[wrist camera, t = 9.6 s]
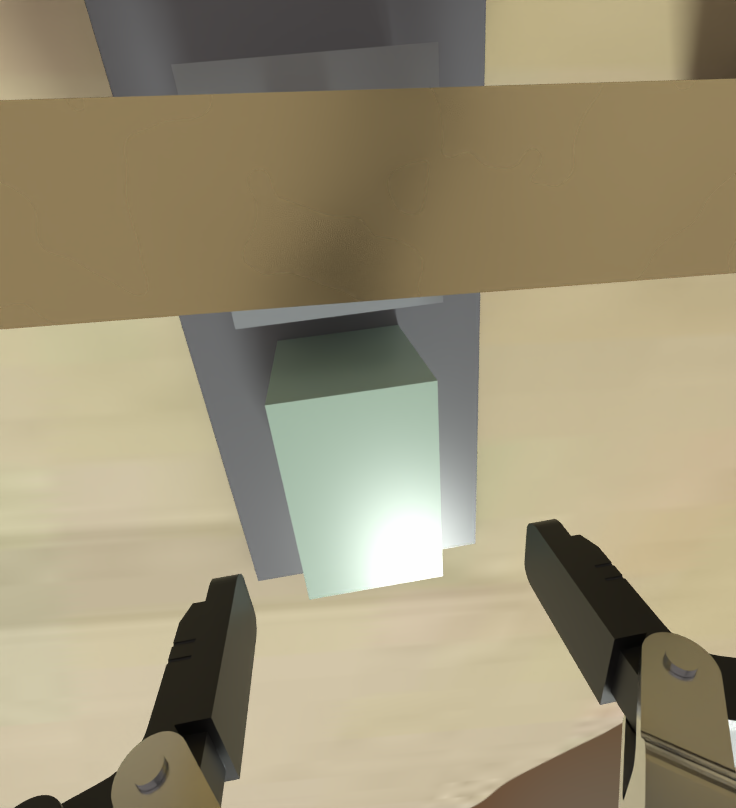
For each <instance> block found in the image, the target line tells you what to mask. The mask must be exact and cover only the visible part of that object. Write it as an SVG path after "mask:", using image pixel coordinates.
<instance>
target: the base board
mask: <svg viewBox="0 0 736 808" xmlns="http://www.w3.org/2000/svg"><path fill="white" fill-rule="evenodd" d="M84 1H85V4H86V8H87V11H88V14H89V18H90V21H91V24H92V28H93V31H94V34H95V38H96V41H97V44H98V48H99V51H100V54H101V58H102V61H103V64H104V68H105V71H106V74H107V78H108V81H109V84H110V88H111V91H112V94H113V97H131V96H164V95H198V94H232V93H266V92H299V91H333V90H367V89H400V88H434V87H468V86H484V72H485V21H486V0H84ZM179 318H180V321H181V324H182V328H183V331H184V334H185V338H186V341H187V344H188V348H189V351H190V354H191V358H192V361H193V364H194V368H195V371H196V374H197V378H198V381H199V384H200V388H201V391H202V394H203V398H204V401H205V404H206V408H207V411H208V414H209V418H210V421H211V424H212V428H213V431H214V434H215V438H216V441H217V444H218V448H219V451H220V454H221V458H222V461H223V464H224V468H225V471H226V474H227V478H228V481H229V484H230V488H231V491H232V494H233V498H234V501H235V504H236V508H237V511H238V514H239V518H240V521H241V524H242V528H243V531H244V534H245V538H246V541H247V544H248V548H249V551H250V554H251V558H252V561H253V564H254V568H255V571H256V574H257V578H258V581H261V580H267V579H273V578H278V577H284V576H290V575H296V574H302V573H303V569H302V564H301V560H300V556H299V551H298V547H297V543H296V538H295V534H294V530H293V525H292V521H291V517H290V512H289V508H288V504H287V499H286V495H285V491H284V486H283V482H282V478H281V473H280V469H279V465H278V460H277V456H276V452H275V447H274V443H273V439H272V434H271V430H270V426H269V421H268V417H267V413H266V408H265V402H266V397H267V392H268V387H269V382H270V376H271V371H272V366H273V361H274V356H275V351H276V346H277V341H280V340H288V339H295V338H303V337H310V336H318V335H325V334H333V333H340V332H348V331H355V330H363V329H370V328H378V327H385V326H393V325H399V327H400V328H401V330H402V331H403V332H404V334H405V335H406V337H407V338H408V340H409V341H410V342H411V344H412V345H413V347H414V348H415V349H416V351H417V352H418V354H419V355H420V357H421V358H422V359H423V361H424V362H425V364H426V365H427V366H428V368H429V369H430V371H431V372H432V374H433V375H434V376H435V378H436V379H437V381H438V417H439V454H440V491H441V528H442V549H446V548H452V547H458V546H464V545H469V544H475V531H476V480H477V429H478V378H479V327H480V293H467V294H454V295H441V296H428V297H415V298H402V299H389V300H376V301H363V302H350V303H337V304H324V305H311V306H298V307H285V308H272V309H259V310H246V311H233V312H220V313H207V314H194V315H180V316H179Z"/></svg>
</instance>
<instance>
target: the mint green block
mask: <svg viewBox="0 0 736 808" xmlns="http://www.w3.org/2000/svg"><path fill="white" fill-rule="evenodd" d="M265 408H266V413H267V417H268V421H269V426H270V430H271V434H272V439H273V443H274V447H275V452H276V456H277V460H278V465H279V469H280V473H281V478H282V482H283V486H284V491H285V495H286V499H287V504H288V508H289V512H290V517H291V521H292V525H293V530H294V534H295V538H296V543H297V547H298V551H299V556H300V560H301V564H302V569H303V573H304V577H305V582H306V586H307V590H308V595H309V599H316V598H321V597H327V596H333V595H338V594H344V593H349V592H355V591H361V590H366V589H372V588H378V587H383V586H389V585H395V584H400V583H406V582H411V581H417V580H423V579H428V578H434V577H440V576H443V564H442V528H441V491H440V454H439V417H438V381H437V379H436V378H435V376H434V375H433V374H432V372H431V371H430V369H429V368H428V366H427V365H426V364H425V362H424V361H423V359H422V358H421V357H420V355H419V354H418V352H417V351H416V349H415V348H414V347H413V345H412V344H411V342H410V341H409V340H408V338H407V337H406V335H405V334H404V332H403V331H402V330H401V328H400V327H399V325H393V326H385V327H378V328H370V329H363V330H355V331H348V332H340V333H333V334H325V335H318V336H310V337H303V338H295V339H288V340H280V341H277V346H276V351H275V356H274V361H273V366H272V371H271V376H270V382H269V387H268V392H267V397H266V402H265Z"/></svg>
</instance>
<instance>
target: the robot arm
mask: <svg viewBox="0 0 736 808" xmlns="http://www.w3.org/2000/svg"><path fill="white" fill-rule="evenodd" d="M525 570H526V575H527V578H528V580H529V583H530V585H531V587H532V589H533V590H534V592H535V594H536V595H537V597H538V599H539V601H540V602H541V604H542V606H543V607H544V609H545V611H546V613H547V614H548V616H549V618H550V619H551V621H552V623H553V625H554V626H555V628H556V630H557V631H558V633H559V635H560V637H561V638H562V640H563V642H564V643H565V645H566V647H567V649H568V650H569V652H570V654H571V656H572V657H573V659H574V661H575V662H576V664H577V666H578V668H579V669H580V671H581V673H582V674H583V676H584V678H585V680H586V681H587V683H588V685H589V686H590V688H591V690H592V692H593V693H594V695H595V697H596V698H597V700H598V702H599V704H600V705H602V704H607V703H611V702H617V703H618V705H619V707H620V708H621V710H622V712H623V713H624V717H623V729H622V748H621V769H620V789H619V807H618V808H736V772H735V767H736V658H732V657H724V656H717V655H712V654H709V653H708V652H707V651H706V650H705V649H703V648H702V647H701V646H699V645H698V644H696V643H695V642H693V641H692V640H690V639H688V638H686V637H683V636H681V635H678V634H674V633H671V632H670V631H669V630H668V629H667V627H666V626H665V625H664V624H663V623H662V622H661V620H660V619H659V618H658V617H657V616H656V615H655V613H654V612H653V611H652V610H651V609H650V607H649V606H648V605H647V604H646V603H645V601H644V600H643V599H642V598H641V597H640V596H639V594H638V593H637V592H636V591H635V590H634V588H633V587H632V586H631V585H630V584H629V583H628V581H627V580H626V579H624V578H623V577H622V574H621V573H620V572H619V571H618V570H617V568H616V567H615V566H614V565H612V564H611V561H610V560H609V559H608V558H607V556H606V555H605V554H604V553H603V552H602V551H601V549H600V548H599V547H598V546H596V545H595V544H593V543H592V542H590V541H589V540H587V539H586V538H584V537H583V536H581V535H574V536H571V535H570V534H569V533H568V532H567V530H566V529H565V528H564V527H563V525H562V524H561V523H560V522H559V521H558V520H556V519H552V520H546V521H541V522H535V523H530V524H528V526H527V534H526V549H525ZM256 632H257V627H256V616H255V612H254V608H253V605H252V602H251V599H250V596H249V593H248V590H247V587H246V584H245V581H244V578H243V576H242V574H237V575H232V576H226V577H220V578H215V579H212V580H211V582H210V585H209V589H208V593H207V597H206V601H204V602H199V603H193V604H192V605H191V607H190V608H189V610H188V611H187V613H186V614H185V615H184V617H183V618H182V620H181V621H180V622H179V626H178V629H177V632H176V636H175V639H174V642H173V643H174V646H173V647H172V649H171V652H170V655H169V659H168V664H167V665H166V669H165V672H164V675H163V678H162V682H161V685H160V688H159V692H158V695H157V698H156V701H155V705H154V708H153V711H152V715H151V718H150V721H149V724H148V728H147V731H146V733H145V736H144V738H143V740H142V742H140V743H139V744H138V745H137V746H136V747H134V748H133V749H132V750H131V752H130V753H129V754H128V755H127V756H126V758H125V759H124V760H123V762H122V763H121V765H120V767H119V769H118V771H117V772H115V773H114V774H113V775H112V776H110V777H109V778H107V779H105V780H104V781H102V782H100V783H98V784H97V785H95V786H93V787H91V788H89V789H88V790H86V791H84V792H82V793H80V794H79V795H77V796H75V797H73V798H71V799H69V800H68V801H66V802H64V803H62V804H61V803H60V802H59V801H58V800H57V799H56V798H55V797H52V796H49V795H41V796H36V797H33V798H30V799H28V800H26V801H24V802H22V803H21V804H19V805H18V806H16V807H15V808H221V802H222V795H223V788H224V782H226V781H231V780H236V779H240V771H241V763H242V754H243V746H244V737H245V728H246V720H247V711H248V703H249V694H250V686H251V677H252V669H253V660H254V652H255V643H256Z"/></svg>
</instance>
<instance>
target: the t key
mask: <svg viewBox="0 0 736 808" xmlns="http://www.w3.org/2000/svg"><path fill="white" fill-rule="evenodd" d="M728 273H736V79H704V80H670V81H637V82H603V83H569V84H535V85H502V86H468V87H434V88H400V89H367V90H333V91H299V92H266V93H232V94H198V95H164V96H131V97H97V98H63V99H29V100H0V329H11V328H24V327H37V326H50V325H63V324H76V323H89V322H102V321H115V320H128V319H141V318H154V317H167V316H180V315H194V314H207V313H220V312H233V311H246V310H259V309H272V308H285V307H298V306H311V305H324V304H337V303H350V302H363V301H376V300H389V299H402V298H415V297H428V296H441V295H454V294H467V293H480V292H493V291H507V290H520V289H533V288H546V287H559V286H572V285H585V284H598V283H611V282H624V281H637V280H650V279H663V278H676V277H689V276H702V275H715V274H728Z"/></svg>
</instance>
